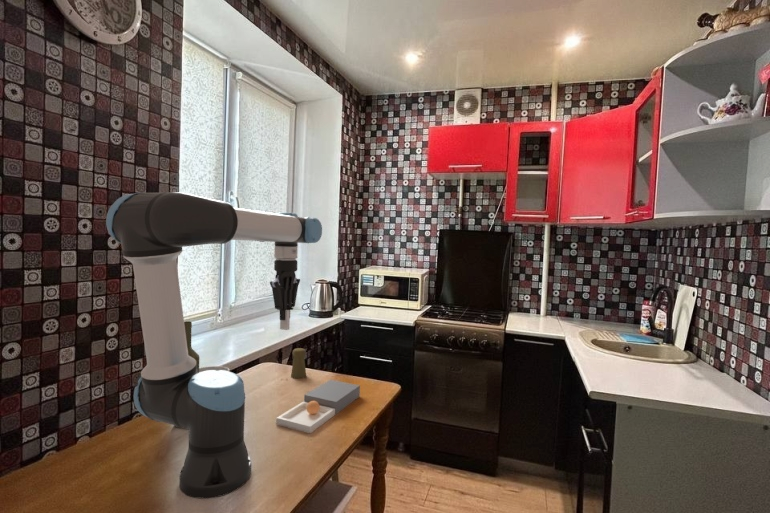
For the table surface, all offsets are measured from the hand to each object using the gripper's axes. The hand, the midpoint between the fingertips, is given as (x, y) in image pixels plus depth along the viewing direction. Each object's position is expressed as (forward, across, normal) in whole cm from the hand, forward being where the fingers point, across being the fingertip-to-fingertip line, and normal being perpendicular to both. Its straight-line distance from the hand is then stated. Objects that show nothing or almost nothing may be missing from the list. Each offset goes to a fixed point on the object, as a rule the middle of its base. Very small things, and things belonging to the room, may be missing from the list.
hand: (284, 329), depth 135 cm
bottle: (+25, -28, +13) cm, 39 cm away
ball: (+22, -5, -16) cm, 27 cm away
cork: (+25, +21, +10) cm, 34 cm away
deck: (+24, +7, -15) cm, 29 cm away
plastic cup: (+25, -15, +17) cm, 33 cm away
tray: (+24, -8, -16) cm, 30 cm away
